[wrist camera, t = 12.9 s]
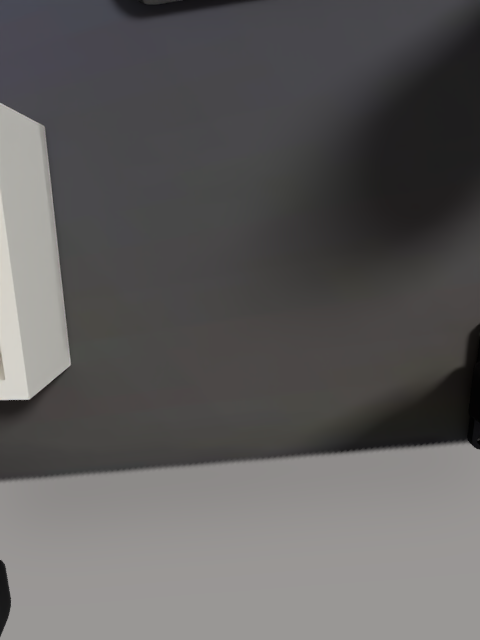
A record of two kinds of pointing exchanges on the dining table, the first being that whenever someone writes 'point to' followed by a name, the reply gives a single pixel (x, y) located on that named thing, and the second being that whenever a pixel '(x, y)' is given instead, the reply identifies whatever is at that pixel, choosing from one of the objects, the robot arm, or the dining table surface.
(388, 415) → the dining table surface
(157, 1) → the phone
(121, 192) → the dining table surface
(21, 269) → the box
